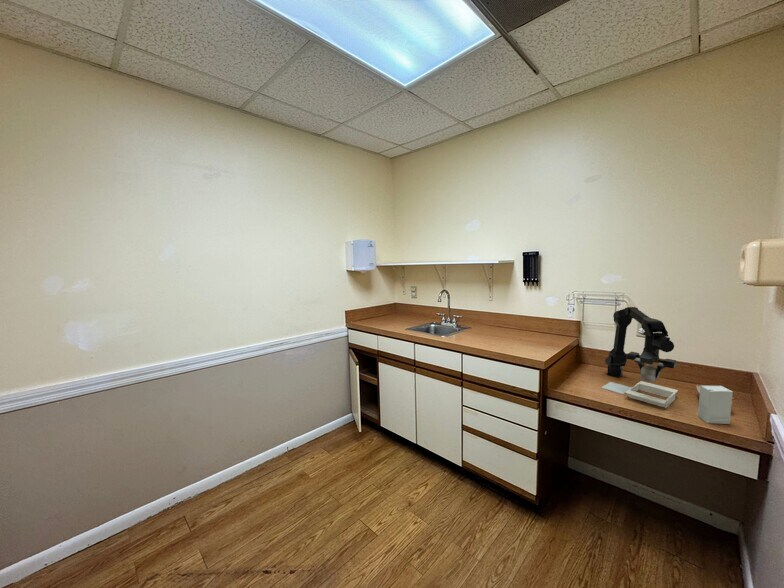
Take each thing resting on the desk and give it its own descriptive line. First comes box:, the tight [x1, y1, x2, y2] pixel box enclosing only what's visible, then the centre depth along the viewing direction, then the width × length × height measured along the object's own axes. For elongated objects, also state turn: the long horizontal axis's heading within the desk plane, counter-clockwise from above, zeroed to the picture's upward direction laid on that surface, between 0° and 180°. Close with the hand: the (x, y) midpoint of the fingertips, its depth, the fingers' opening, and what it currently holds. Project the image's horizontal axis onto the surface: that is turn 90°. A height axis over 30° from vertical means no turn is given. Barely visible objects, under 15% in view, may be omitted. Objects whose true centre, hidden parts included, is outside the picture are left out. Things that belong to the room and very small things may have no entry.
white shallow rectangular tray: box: [624, 380, 679, 409], centre depth 157 cm, size 15×22×4 cm
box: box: [640, 363, 660, 383], centre depth 156 cm, size 5×9×6 cm, turn 126°
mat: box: [600, 381, 632, 395], centre depth 169 cm, size 10×12×1 cm
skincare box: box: [697, 385, 734, 425], centre depth 134 cm, size 8×6×15 cm
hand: (649, 376), depth 156 cm, fingers closed on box, 5 cm apart
